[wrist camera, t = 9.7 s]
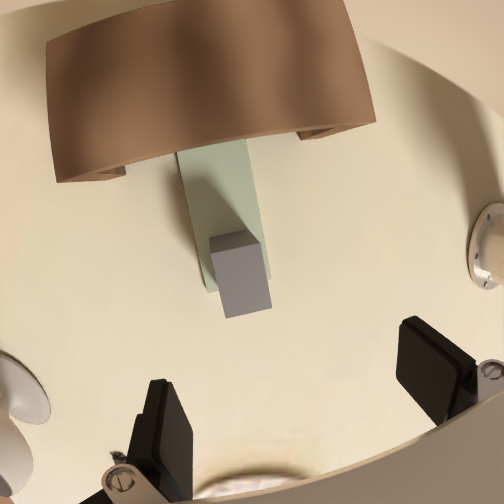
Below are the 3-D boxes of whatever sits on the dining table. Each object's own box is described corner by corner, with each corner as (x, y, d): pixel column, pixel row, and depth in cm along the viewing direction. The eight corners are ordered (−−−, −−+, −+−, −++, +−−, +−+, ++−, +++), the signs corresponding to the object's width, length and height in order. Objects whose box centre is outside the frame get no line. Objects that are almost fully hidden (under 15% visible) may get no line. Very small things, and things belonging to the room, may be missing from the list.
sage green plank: (225, 46, 23) (232, 10, 17) (269, 275, 29) (288, 303, 23) (162, 58, 23) (150, 24, 16) (207, 289, 29) (209, 322, 22)
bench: (299, 43, 24) (340, -6, 14) (320, 138, 27) (376, 121, 17) (92, 81, 22) (46, 42, 12) (106, 180, 25) (56, 183, 15)
